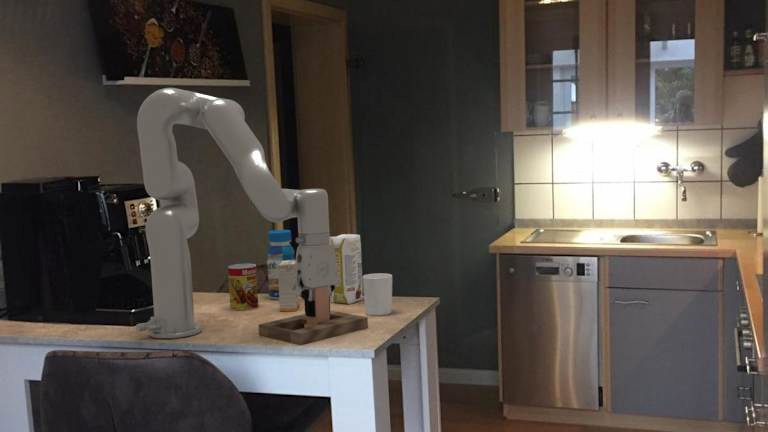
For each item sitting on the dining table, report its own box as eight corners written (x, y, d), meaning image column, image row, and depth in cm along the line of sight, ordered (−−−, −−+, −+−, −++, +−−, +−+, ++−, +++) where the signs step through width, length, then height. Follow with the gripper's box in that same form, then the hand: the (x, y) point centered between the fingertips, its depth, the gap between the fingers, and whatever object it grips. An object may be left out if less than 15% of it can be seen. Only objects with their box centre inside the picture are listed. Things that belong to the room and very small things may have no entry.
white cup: (360, 316, 214) (358, 278, 213) (368, 309, 222) (366, 273, 221) (389, 316, 212) (388, 278, 211) (396, 310, 220) (395, 273, 219)
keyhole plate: (300, 344, 186) (300, 333, 186) (259, 335, 197) (258, 324, 197) (367, 327, 201) (367, 317, 200) (325, 319, 212) (324, 309, 212)
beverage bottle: (299, 298, 242) (295, 231, 240) (270, 301, 240) (267, 233, 238) (294, 293, 250) (291, 228, 248) (267, 296, 248) (263, 230, 246)
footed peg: (316, 333, 195) (314, 284, 194) (298, 329, 200) (296, 281, 199) (339, 328, 200) (336, 279, 199) (320, 324, 205) (318, 277, 204)
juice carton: (366, 299, 237) (363, 234, 235) (350, 305, 229) (347, 237, 227) (344, 297, 240) (341, 233, 239) (328, 303, 233) (325, 237, 231)
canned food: (253, 310, 227) (250, 267, 226) (226, 310, 228) (223, 268, 227) (262, 304, 235) (259, 263, 234) (236, 305, 236) (233, 263, 235)
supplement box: (297, 311, 224) (294, 263, 222) (279, 311, 224) (277, 264, 223) (300, 305, 232) (298, 259, 231) (283, 305, 232) (281, 260, 231)
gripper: (296, 245, 189) (300, 322, 191) (350, 237, 201) (353, 310, 203) (276, 243, 195) (280, 318, 196) (330, 235, 206) (333, 307, 208)
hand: (317, 313), depth 200 cm, fingers closed on footed peg, 4 cm apart
